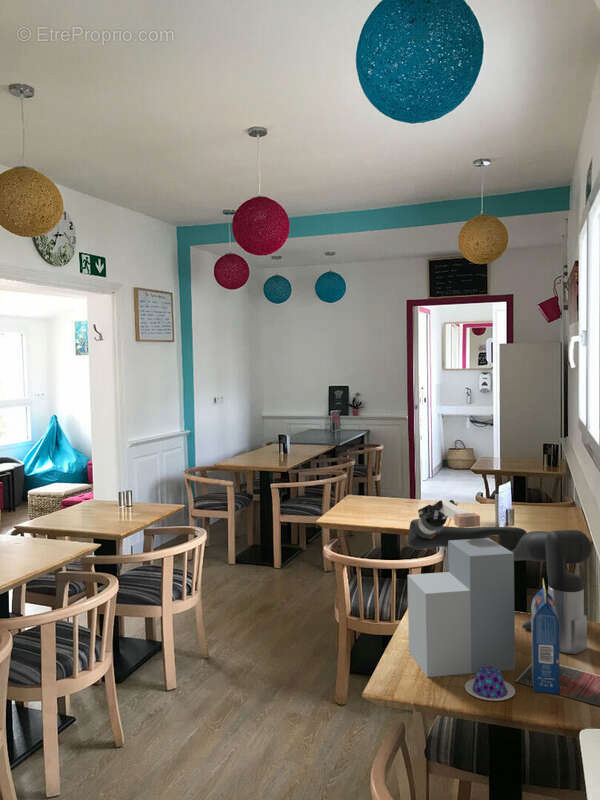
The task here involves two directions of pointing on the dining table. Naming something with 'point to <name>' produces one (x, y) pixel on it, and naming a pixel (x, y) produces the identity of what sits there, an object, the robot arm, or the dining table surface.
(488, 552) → the riser
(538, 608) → the blue food package
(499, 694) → the pudding
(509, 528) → the robot arm
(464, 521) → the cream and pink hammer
